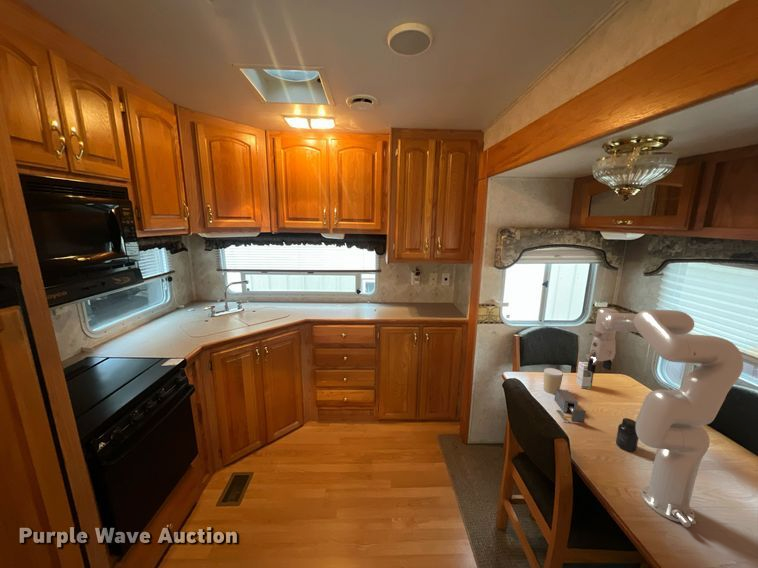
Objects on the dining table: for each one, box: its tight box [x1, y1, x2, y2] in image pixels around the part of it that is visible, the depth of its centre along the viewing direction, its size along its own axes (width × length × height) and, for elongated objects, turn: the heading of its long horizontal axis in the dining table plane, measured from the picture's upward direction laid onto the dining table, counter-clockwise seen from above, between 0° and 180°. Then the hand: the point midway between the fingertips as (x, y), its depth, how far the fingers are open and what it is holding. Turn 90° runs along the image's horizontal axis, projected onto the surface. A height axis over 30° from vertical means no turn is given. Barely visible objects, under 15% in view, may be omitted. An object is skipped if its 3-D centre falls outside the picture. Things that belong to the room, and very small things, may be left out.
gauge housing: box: [554, 389, 579, 424], centre depth 146 cm, size 20×9×6 cm, turn 169°
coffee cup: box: [543, 367, 564, 395], centre depth 164 cm, size 9×9×12 cm
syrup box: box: [575, 361, 594, 390], centre depth 169 cm, size 6×6×14 cm
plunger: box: [564, 403, 586, 424], centre depth 142 cm, size 11×8×6 cm
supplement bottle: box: [615, 417, 640, 453], centre depth 121 cm, size 7×7×12 cm
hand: (598, 370), depth 133 cm, fingers open, 9 cm apart
